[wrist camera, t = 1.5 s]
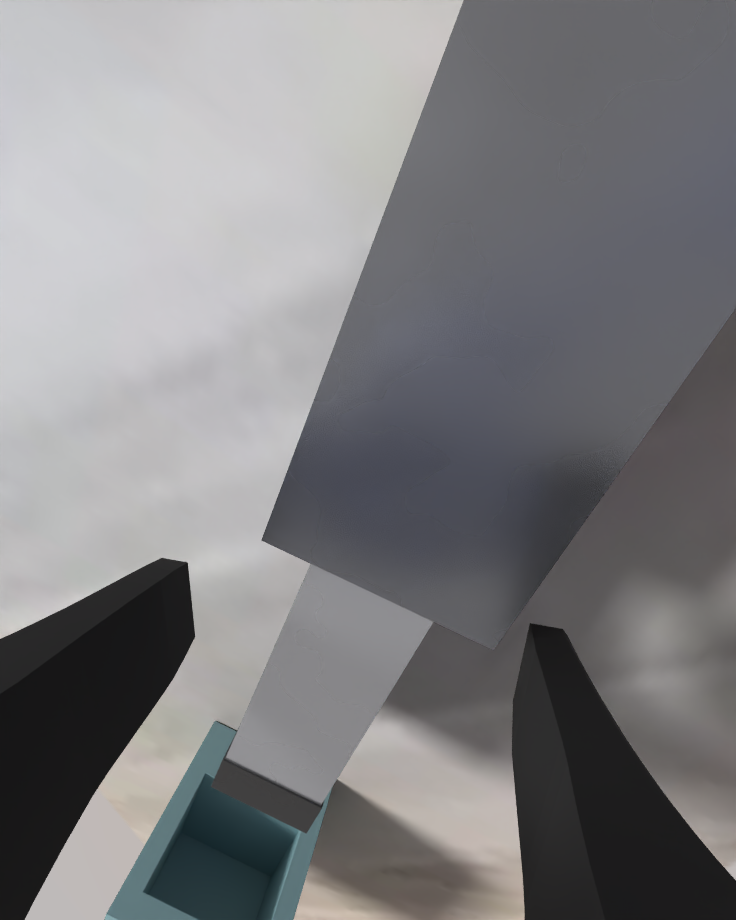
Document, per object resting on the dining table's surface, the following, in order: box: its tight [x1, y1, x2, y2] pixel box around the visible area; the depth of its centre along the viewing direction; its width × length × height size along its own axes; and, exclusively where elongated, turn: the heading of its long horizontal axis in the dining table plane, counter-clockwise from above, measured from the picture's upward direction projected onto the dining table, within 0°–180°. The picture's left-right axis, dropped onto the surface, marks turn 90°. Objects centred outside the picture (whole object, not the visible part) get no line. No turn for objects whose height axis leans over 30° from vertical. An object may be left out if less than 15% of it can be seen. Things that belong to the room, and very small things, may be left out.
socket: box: [104, 721, 332, 920], centre depth 19 cm, size 5×5×6 cm
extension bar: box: [211, 564, 433, 834], centre depth 12 cm, size 3×17×3 cm, turn 158°
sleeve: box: [262, 0, 736, 650], centre depth 10 cm, size 4×10×6 cm, turn 157°
